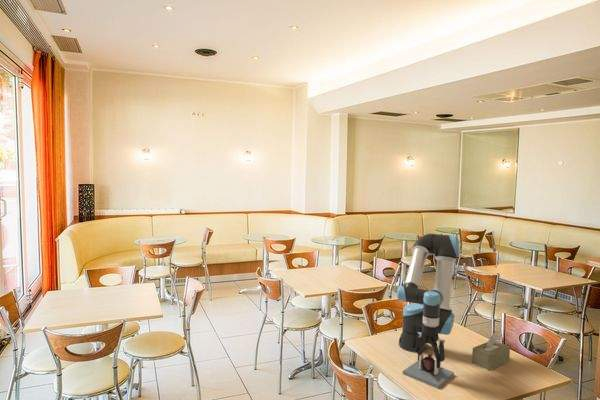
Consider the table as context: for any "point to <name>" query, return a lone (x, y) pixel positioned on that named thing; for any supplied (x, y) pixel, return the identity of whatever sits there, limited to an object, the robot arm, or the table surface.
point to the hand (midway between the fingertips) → (428, 370)
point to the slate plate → (428, 375)
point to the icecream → (428, 363)
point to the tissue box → (491, 353)
